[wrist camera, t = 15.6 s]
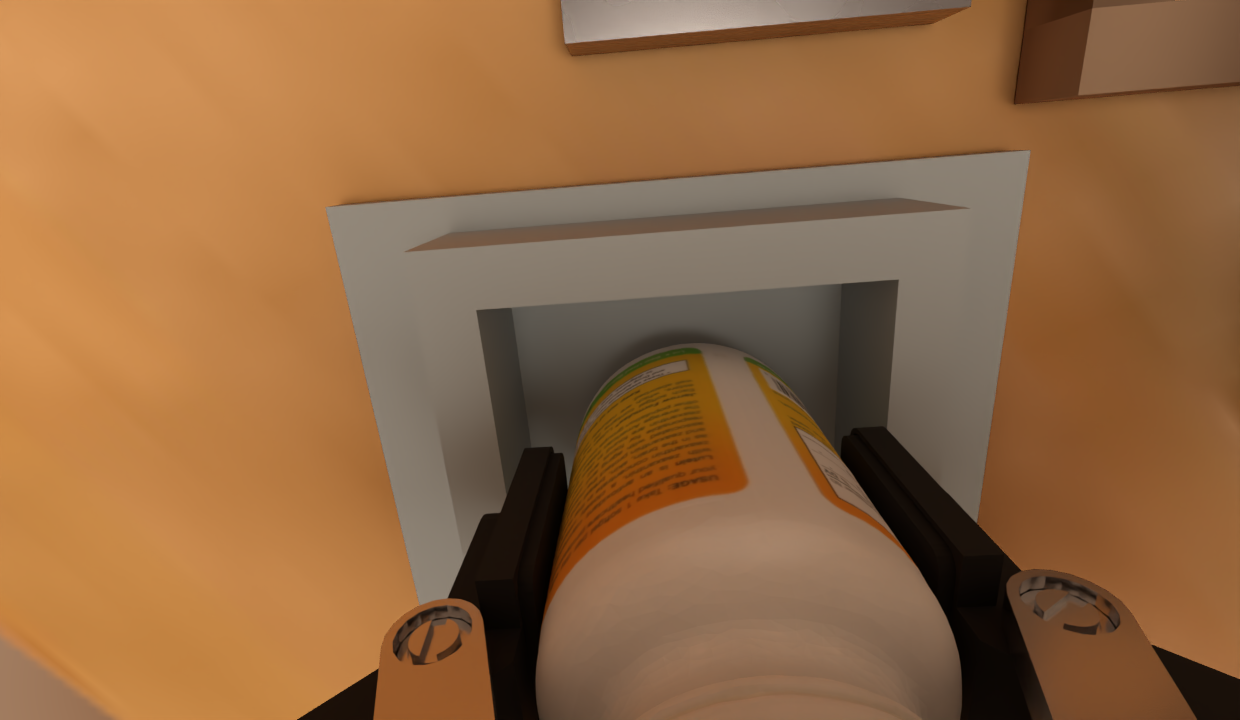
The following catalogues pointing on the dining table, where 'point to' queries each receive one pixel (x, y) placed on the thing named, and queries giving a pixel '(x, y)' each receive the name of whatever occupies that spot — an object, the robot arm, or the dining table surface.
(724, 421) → the supplement bottle
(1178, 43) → the socket collar
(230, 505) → the dining table surface
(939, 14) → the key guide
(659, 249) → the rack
